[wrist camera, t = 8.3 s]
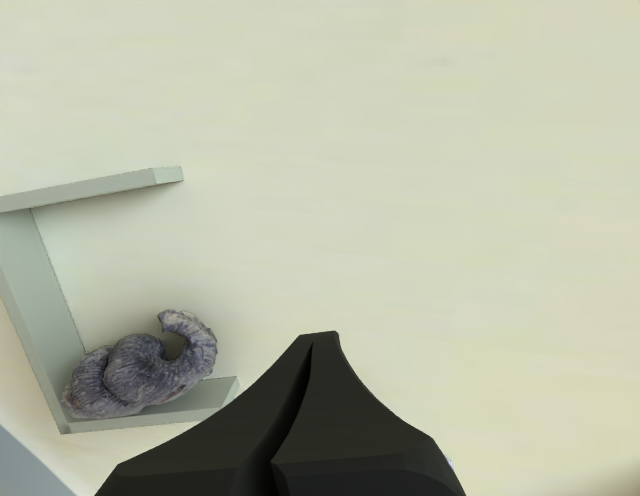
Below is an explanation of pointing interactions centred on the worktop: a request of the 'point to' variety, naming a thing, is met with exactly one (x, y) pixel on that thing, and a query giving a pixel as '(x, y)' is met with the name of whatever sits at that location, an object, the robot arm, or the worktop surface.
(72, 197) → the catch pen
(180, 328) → the seashell
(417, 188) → the worktop surface
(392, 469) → the robot arm
